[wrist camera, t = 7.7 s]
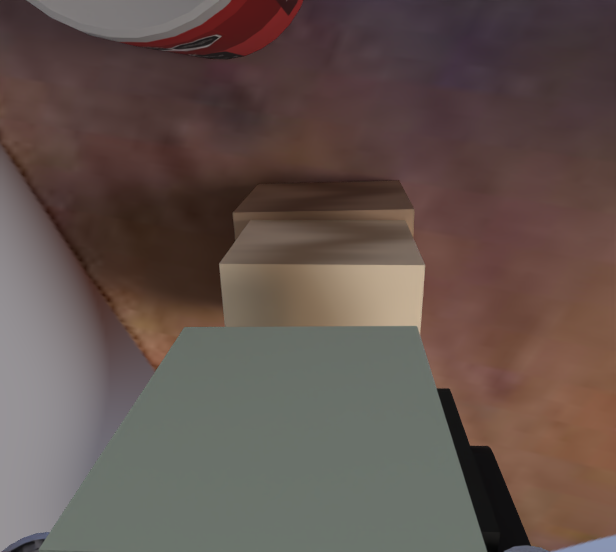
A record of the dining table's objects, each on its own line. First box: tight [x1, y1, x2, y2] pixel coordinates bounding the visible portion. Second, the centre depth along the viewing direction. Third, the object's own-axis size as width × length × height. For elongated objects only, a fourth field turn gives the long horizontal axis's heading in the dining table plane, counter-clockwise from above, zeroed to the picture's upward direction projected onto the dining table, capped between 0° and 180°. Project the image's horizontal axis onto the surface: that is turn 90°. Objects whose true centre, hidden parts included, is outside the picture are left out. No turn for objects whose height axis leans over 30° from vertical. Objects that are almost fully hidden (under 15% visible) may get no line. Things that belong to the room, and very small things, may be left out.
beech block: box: [219, 220, 425, 334], centre depth 17 cm, size 6×6×5 cm
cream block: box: [233, 180, 414, 241], centre depth 23 cm, size 7×7×6 cm
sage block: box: [39, 326, 487, 552], centre depth 10 cm, size 6×6×6 cm
